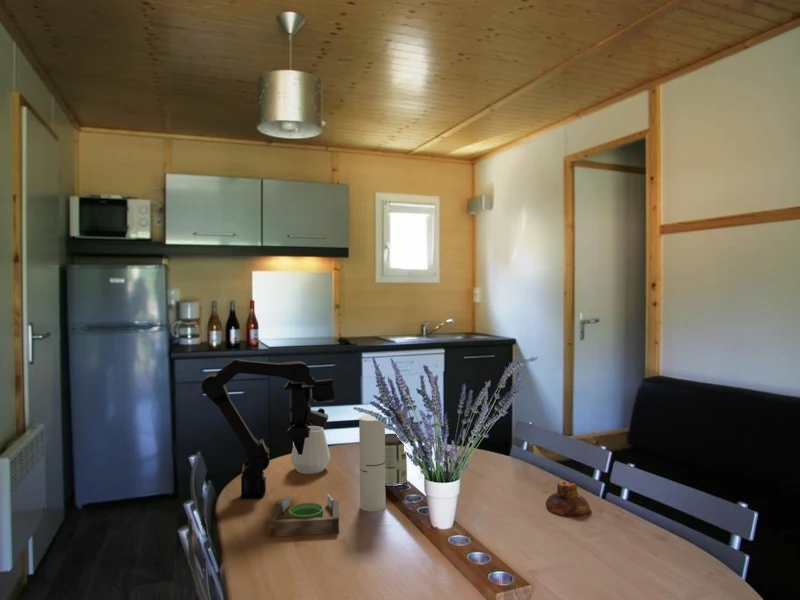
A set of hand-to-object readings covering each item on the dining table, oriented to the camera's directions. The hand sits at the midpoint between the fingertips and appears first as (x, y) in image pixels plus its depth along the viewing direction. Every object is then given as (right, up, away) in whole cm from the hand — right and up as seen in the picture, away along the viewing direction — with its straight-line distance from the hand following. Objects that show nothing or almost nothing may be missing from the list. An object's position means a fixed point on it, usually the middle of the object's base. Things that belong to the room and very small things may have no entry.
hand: (300, 454), depth 170 cm
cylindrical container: (+23, -11, -13) cm, 29 cm away
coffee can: (+27, -11, +7) cm, 30 cm away
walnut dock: (+6, -11, -24) cm, 27 cm away
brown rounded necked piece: (+77, -11, -16) cm, 79 cm away
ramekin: (+6, -12, -25) cm, 29 cm away
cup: (0, -11, +20) cm, 23 cm away
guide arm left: (-1, -11, -16) cm, 19 cm away
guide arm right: (+11, -11, -14) cm, 21 cm away
